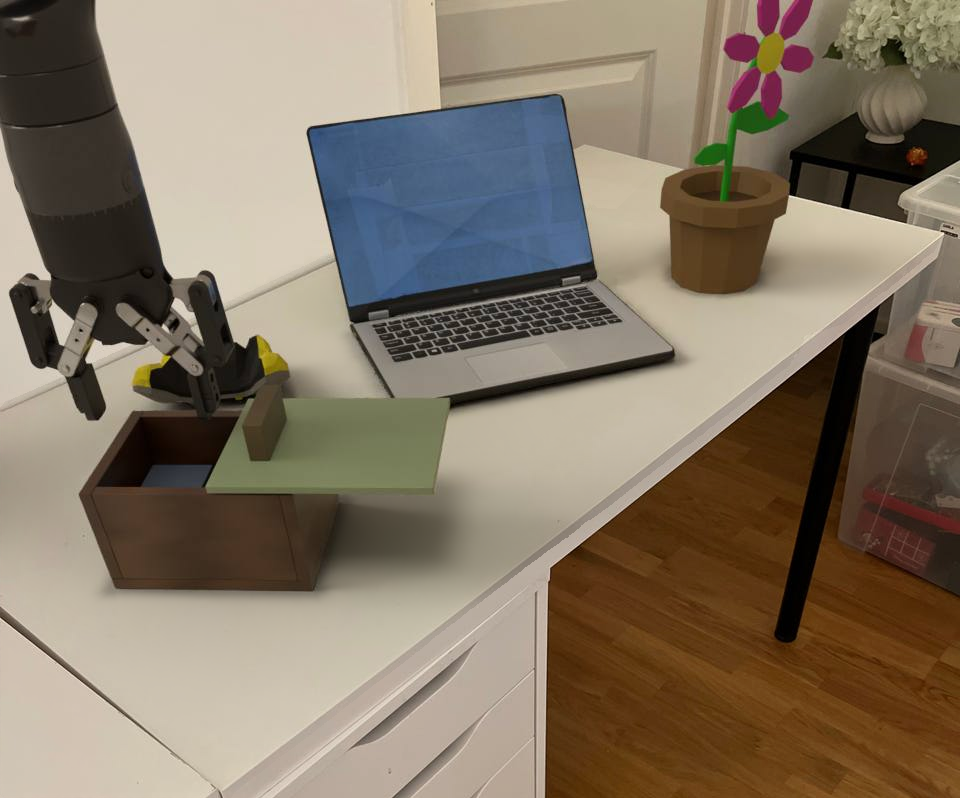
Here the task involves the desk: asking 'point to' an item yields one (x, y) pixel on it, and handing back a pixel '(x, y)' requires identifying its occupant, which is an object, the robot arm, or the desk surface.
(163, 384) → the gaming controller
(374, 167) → the laptop
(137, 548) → the storage box
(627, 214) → the desk surface
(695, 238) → the flowerpot
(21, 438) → the desk surface
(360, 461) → the cover
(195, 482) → the block
